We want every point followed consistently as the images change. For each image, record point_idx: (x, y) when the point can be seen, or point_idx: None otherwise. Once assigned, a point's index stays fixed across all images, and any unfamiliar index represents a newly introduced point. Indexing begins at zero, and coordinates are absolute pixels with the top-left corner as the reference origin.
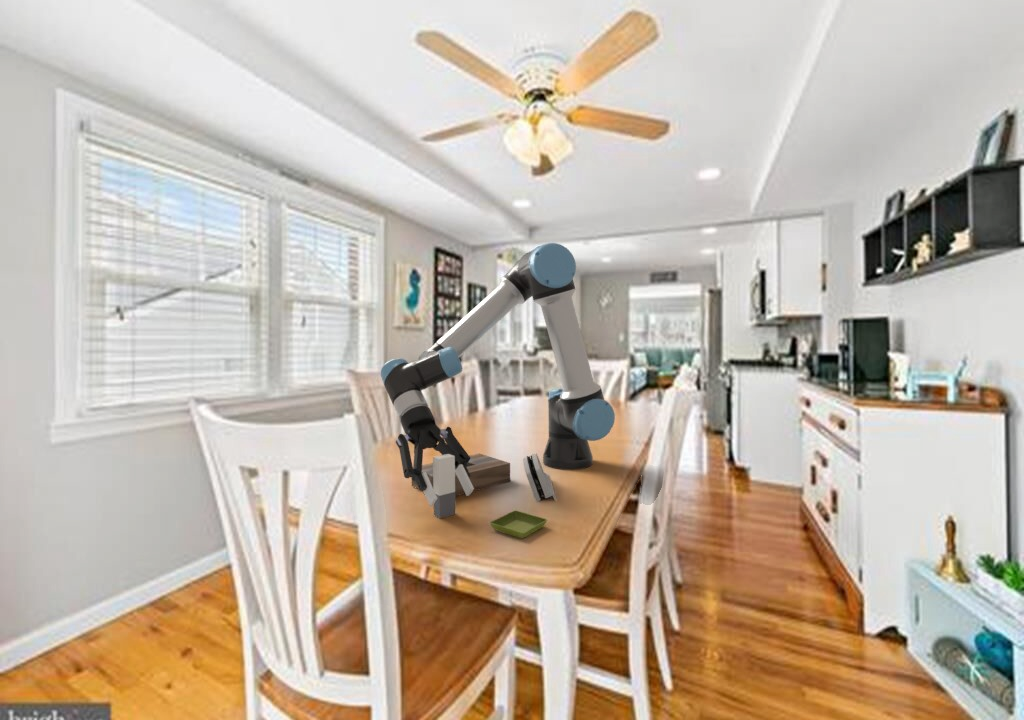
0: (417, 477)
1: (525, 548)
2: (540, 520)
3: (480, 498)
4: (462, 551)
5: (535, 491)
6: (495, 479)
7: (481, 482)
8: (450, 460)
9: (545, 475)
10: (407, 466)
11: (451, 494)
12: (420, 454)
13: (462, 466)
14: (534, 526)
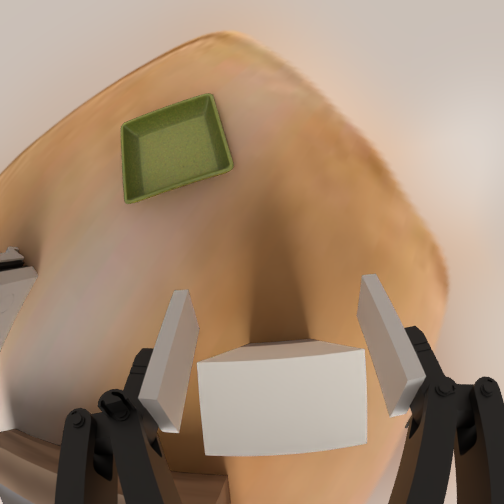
0: (440, 372)
1: (231, 84)
2: (127, 137)
3: None
4: (346, 129)
5: (21, 272)
6: (36, 444)
7: None
8: (246, 357)
9: None
10: (501, 405)
11: (259, 345)
12: (423, 501)
13: (147, 385)
14: (167, 107)
